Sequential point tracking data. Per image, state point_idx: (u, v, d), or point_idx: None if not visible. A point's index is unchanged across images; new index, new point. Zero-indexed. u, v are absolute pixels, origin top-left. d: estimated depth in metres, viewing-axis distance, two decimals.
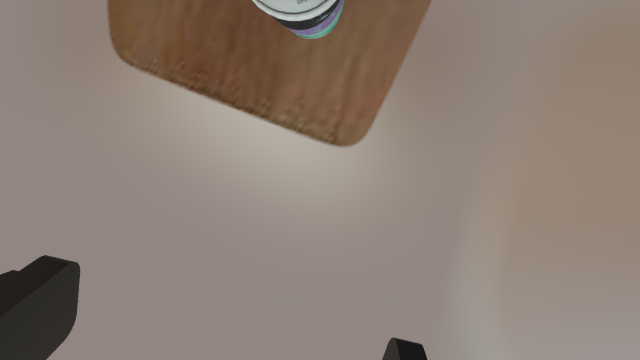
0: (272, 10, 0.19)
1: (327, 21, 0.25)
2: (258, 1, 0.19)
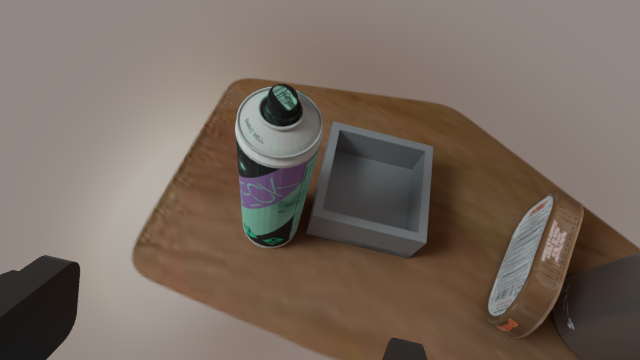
0: (241, 106, 0.24)
1: (244, 190, 0.29)
2: (248, 98, 0.25)
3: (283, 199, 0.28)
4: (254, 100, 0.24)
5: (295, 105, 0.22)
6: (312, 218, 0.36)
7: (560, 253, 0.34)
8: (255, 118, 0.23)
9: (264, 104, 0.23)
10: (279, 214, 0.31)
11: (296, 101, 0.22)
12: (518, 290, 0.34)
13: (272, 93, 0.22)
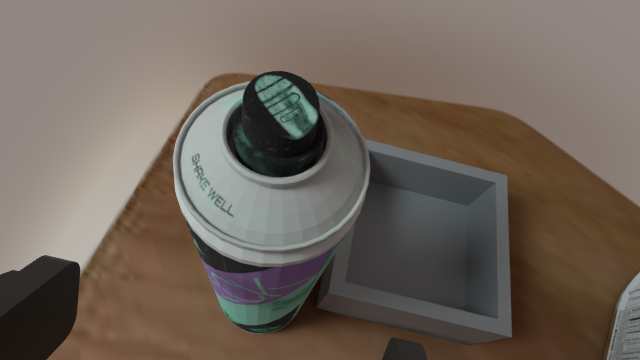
0: (188, 122, 0.11)
1: (209, 275, 0.16)
2: (205, 104, 0.11)
3: (280, 298, 0.15)
4: (216, 110, 0.11)
5: (313, 125, 0.09)
6: (328, 295, 0.22)
7: None
8: (214, 155, 0.10)
9: (235, 121, 0.09)
10: (273, 311, 0.17)
11: (315, 115, 0.09)
12: None
13: (254, 95, 0.09)
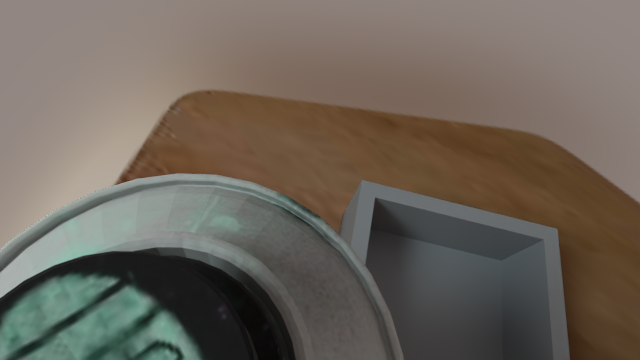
0: None
1: None
2: (16, 246, 0.05)
3: None
4: (19, 279, 0.04)
5: None
6: None
7: None
8: None
9: None
10: None
11: None
12: None
13: None
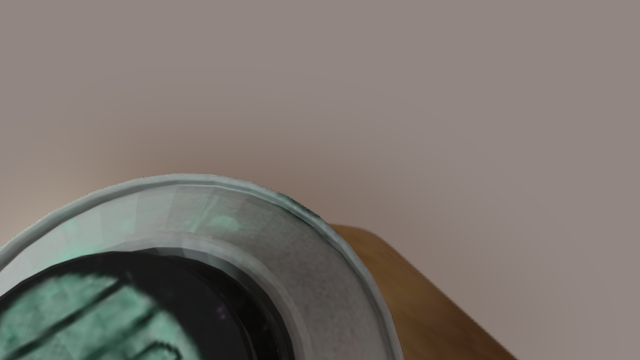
0: None
1: None
2: (15, 246, 0.05)
3: None
4: (18, 280, 0.04)
5: None
6: None
7: None
8: None
9: None
10: None
11: None
12: None
13: None
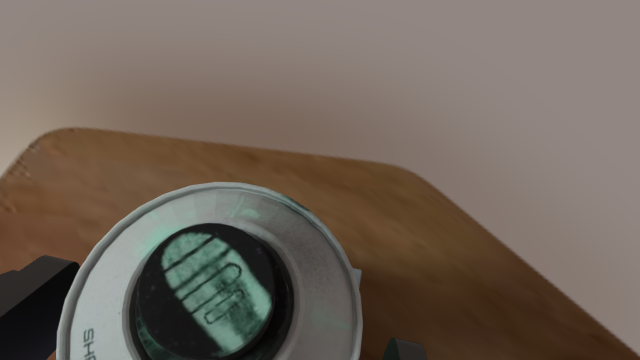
0: (89, 261, 0.07)
1: None
2: (119, 228, 0.08)
3: None
4: (130, 246, 0.07)
5: (263, 321, 0.05)
6: None
7: None
8: (113, 339, 0.06)
9: None
10: None
11: (268, 302, 0.05)
12: None
13: (159, 278, 0.05)
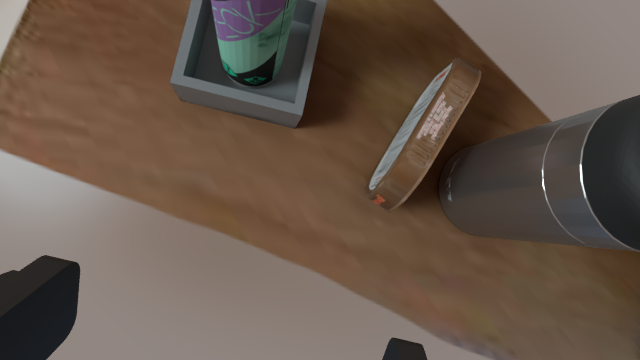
0: None
1: (218, 18, 0.25)
2: None
3: (263, 30, 0.25)
4: None
5: None
6: (173, 85, 0.32)
7: (439, 130, 0.31)
8: None
9: None
10: (259, 49, 0.27)
11: None
12: (390, 166, 0.32)
13: None
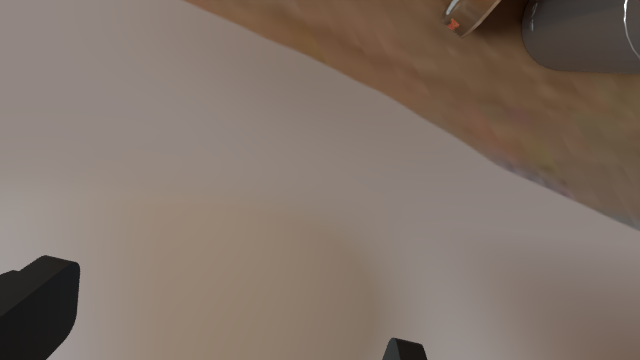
0: None
1: None
2: None
3: None
4: None
5: None
6: None
7: None
8: None
9: None
10: None
11: None
12: None
13: None
